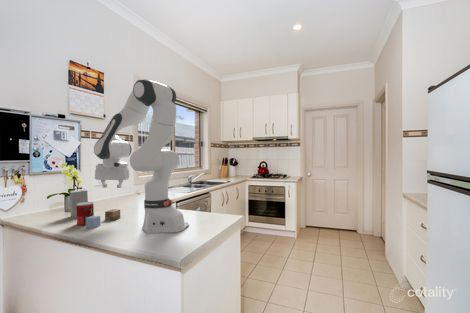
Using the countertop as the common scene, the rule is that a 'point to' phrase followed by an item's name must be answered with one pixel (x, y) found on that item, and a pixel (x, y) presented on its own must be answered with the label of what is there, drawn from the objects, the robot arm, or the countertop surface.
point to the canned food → (84, 212)
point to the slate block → (92, 221)
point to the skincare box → (77, 200)
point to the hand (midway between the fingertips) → (112, 187)
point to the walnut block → (112, 214)
